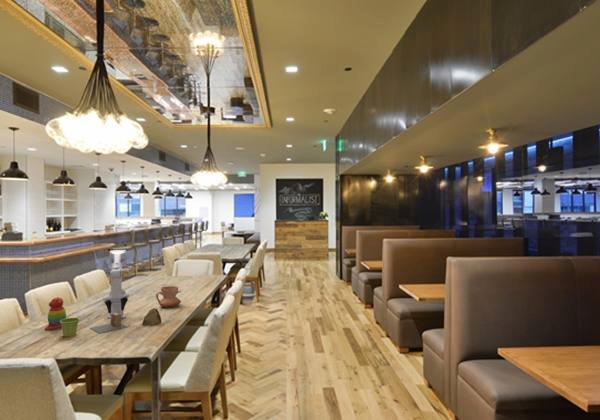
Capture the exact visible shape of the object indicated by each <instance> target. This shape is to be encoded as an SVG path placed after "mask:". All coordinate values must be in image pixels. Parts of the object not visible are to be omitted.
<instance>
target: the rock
mask: <svg viewBox="0 0 600 420" xmlns="http://www.w3.org/2000/svg"><path fill="white" fill-rule="evenodd" d="M160 323H162V318H161V314H160V311H159V310H158V308H157V307H153V308H152V309H149V310H148V312H147V313H146V315H144V318H143V320H142V325H143V326H145V325H155V324H160Z"/></svg>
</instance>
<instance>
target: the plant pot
mask: <svg viewBox="0 0 600 420" xmlns="http://www.w3.org/2000/svg"><path fill="white" fill-rule="evenodd" d="M80 320H81V319H80V318H79V317H69V318H68V317H66V319H63V320H61V321H60V322H61V325H62V328H61V329H62V330H61V331H62V336H63V338H64V337H65V338H66V337H67V338H69V337H74V336H76V335H77V331H78V330H77V329H78V324H79V321H80Z"/></svg>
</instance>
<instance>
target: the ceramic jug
mask: <svg viewBox="0 0 600 420" xmlns="http://www.w3.org/2000/svg"><path fill="white" fill-rule="evenodd" d="M179 293H182V290H179V286H177V285H168V286H162V287H160V291H158V292H156V294H155V299H156V300H157V302H158V305H159V306H160V307H162V308H167V309H169V308H175V307H178V306H179V305H180V304H181V299H179V298H178V297H177V294H179ZM159 294H160V295H161V296H162V297H163V298H161V300H160V298H159Z"/></svg>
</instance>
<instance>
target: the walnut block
mask: <svg viewBox="0 0 600 420" xmlns="http://www.w3.org/2000/svg"><path fill="white" fill-rule="evenodd" d="M110 321H111V322H110V323H111V326H113V327H120V326H121V324H122V318H121V314H119V313H113V314H111V318H110Z"/></svg>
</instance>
